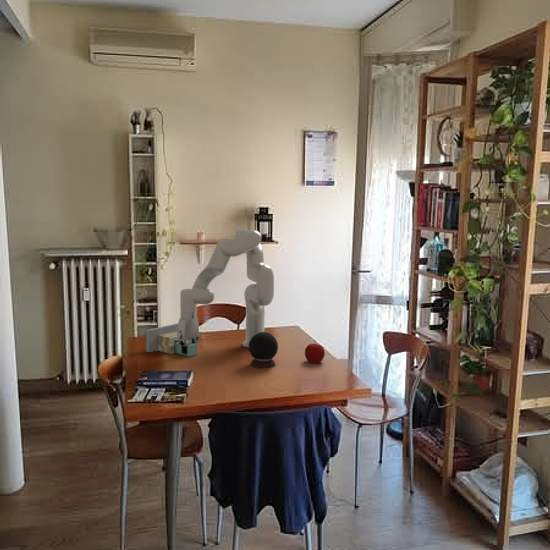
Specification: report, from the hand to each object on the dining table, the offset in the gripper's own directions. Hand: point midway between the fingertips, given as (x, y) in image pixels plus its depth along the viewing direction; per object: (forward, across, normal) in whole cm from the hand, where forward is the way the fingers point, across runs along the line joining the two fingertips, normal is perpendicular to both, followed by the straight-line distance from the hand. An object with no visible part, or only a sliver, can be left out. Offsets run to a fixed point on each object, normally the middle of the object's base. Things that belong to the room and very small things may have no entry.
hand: (188, 352), depth 253 cm
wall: (+1, 0, -17) cm, 17 cm away
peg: (+1, 0, -4) cm, 4 cm away
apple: (+2, -31, +51) cm, 60 cm away
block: (+1, 0, -11) cm, 11 cm away
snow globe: (+2, -12, +36) cm, 38 cm away
